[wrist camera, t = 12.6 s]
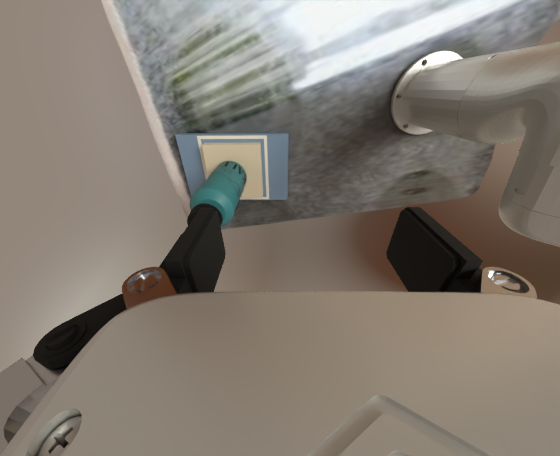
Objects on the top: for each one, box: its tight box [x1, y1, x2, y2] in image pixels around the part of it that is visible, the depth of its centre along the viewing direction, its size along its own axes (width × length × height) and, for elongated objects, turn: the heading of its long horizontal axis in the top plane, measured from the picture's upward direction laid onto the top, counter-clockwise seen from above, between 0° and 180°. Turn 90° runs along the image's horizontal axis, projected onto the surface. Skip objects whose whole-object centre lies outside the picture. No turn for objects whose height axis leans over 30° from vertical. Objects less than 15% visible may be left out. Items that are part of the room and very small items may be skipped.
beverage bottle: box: [187, 160, 247, 227], centre depth 35 cm, size 6×7×20 cm
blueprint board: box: [175, 133, 288, 200], centre depth 44 cm, size 22×14×4 cm, turn 90°
